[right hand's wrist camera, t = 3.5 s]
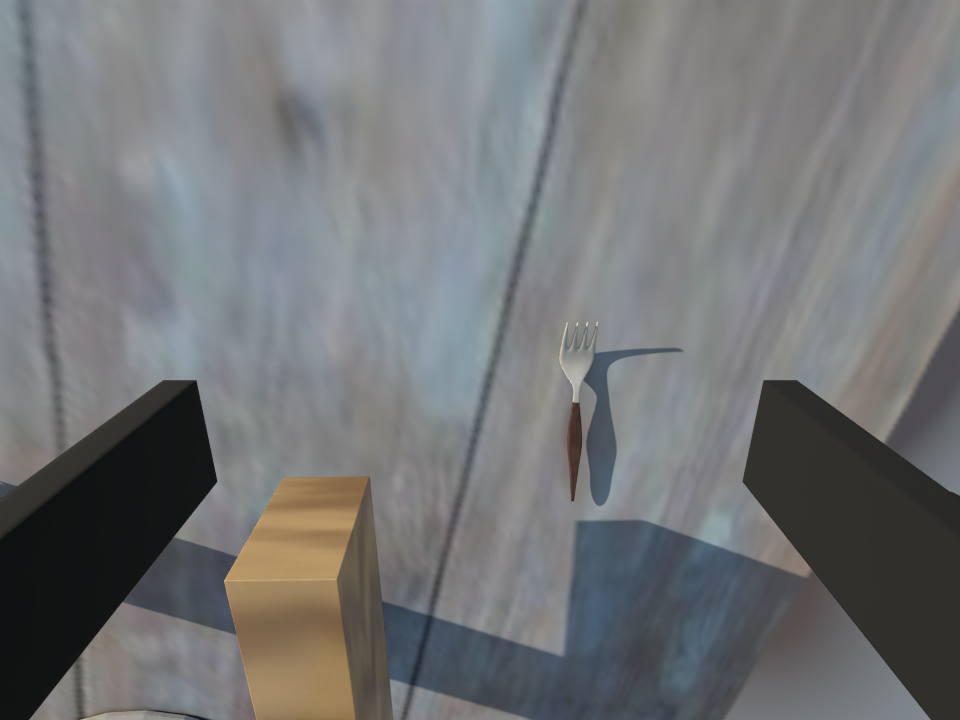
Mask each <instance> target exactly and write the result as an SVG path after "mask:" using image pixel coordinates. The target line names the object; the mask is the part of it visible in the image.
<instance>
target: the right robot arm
mask: <svg viewBox="0 0 960 720" xmlns="http://www.w3.org/2000/svg"><path fill="white" fill-rule="evenodd" d="M216 483H217V477H216V472H215V468H214V463H213V458H212V453H211V448H210V444H209V439H208V434H207V429H206V424H205V419H204V415H203V410H202V405H201V400H200V395H199V391H198V386H197V381H196V380H163V381H162V382H160V383H159V384H158V385H156V386H155V387H153V388H152V389H151V390H149V391H148V392H147V393H145V394H144V395H142V396H141V397H140V398H138V399H137V400H136V401H134V402H133V403H131V404H130V405H129V406H127V407H126V408H125V409H123V410H122V411H120V412H119V413H118V414H116V415H115V416H114V417H112V418H111V419H110V420H108V421H107V422H105V423H104V424H103V425H101V426H100V427H99V428H97V429H96V430H94V431H93V432H92V433H90V434H89V435H88V436H86V437H85V438H83V439H82V440H81V441H79V442H78V443H77V444H75V445H74V446H72V447H71V448H70V449H68V450H67V451H66V452H64V453H63V454H61V455H60V456H59V457H57V458H56V459H55V460H53V461H52V462H50V463H49V464H48V465H46V466H45V467H44V468H42V469H41V470H39V471H38V472H37V473H35V474H34V475H33V476H31V477H30V478H28V479H27V480H26V481H24V482H23V483H22V484H20V485H19V486H18V487H16V488H15V489H13V490H12V491H11V492H9V493H8V494H7V495H5V496H4V497H2V498H0V720H29V719H30V718H31V717H32V715H33V714H34V713H35V712H36V710H37V709H38V708H39V707H40V705H41V704H42V703H43V701H44V700H45V699H46V698H47V696H48V695H49V694H50V693H51V691H52V690H53V689H54V688H55V686H56V685H57V684H58V683H59V681H60V680H61V679H62V677H63V676H64V675H65V674H66V672H67V671H68V670H69V669H70V667H71V666H72V665H73V664H74V662H75V661H76V660H77V659H78V657H79V656H80V655H81V653H82V652H83V651H84V650H85V648H86V647H87V646H88V645H89V643H90V642H91V641H92V640H93V638H94V637H95V636H96V634H97V633H98V632H99V631H100V629H101V628H102V627H103V626H104V624H105V623H106V622H107V621H108V619H109V618H110V617H111V616H112V614H113V613H114V612H115V610H116V609H117V608H118V607H119V605H120V604H121V603H122V602H123V600H124V599H125V598H126V597H127V595H128V594H129V593H130V592H131V590H132V589H133V588H134V586H135V585H136V584H137V583H138V581H139V580H140V579H141V578H142V576H143V575H144V574H145V573H146V571H147V570H148V569H149V567H150V566H151V565H152V564H153V562H154V561H155V560H156V559H157V557H158V556H159V555H160V554H161V552H162V551H163V550H164V549H165V547H166V546H167V545H168V543H169V542H170V541H171V540H172V538H173V537H174V536H175V535H176V533H177V532H178V531H179V530H180V528H181V527H182V526H183V525H184V523H185V522H186V521H187V519H188V518H189V517H190V516H191V514H192V513H193V512H194V511H195V509H196V508H197V507H198V506H199V504H200V503H201V502H202V500H203V499H204V498H205V497H206V495H207V494H208V493H209V492H210V490H211V489H212V488H213V487H214V485H215V484H216ZM743 483H744V484H745V485H746V487H747V488H748V489H749V490H750V492H751V493H752V494H753V495H754V497H755V498H756V499H757V500H758V502H759V503H760V504H761V506H762V507H763V508H764V509H765V511H766V512H767V513H768V514H769V516H770V517H771V518H772V519H773V521H774V522H775V523H776V525H777V526H778V527H779V528H780V530H781V531H782V532H783V533H784V535H785V536H786V537H787V538H788V540H789V541H790V542H791V543H792V545H793V546H794V547H795V549H796V550H797V551H798V552H799V554H800V555H801V556H802V557H803V559H804V560H805V561H806V562H807V564H808V565H809V566H810V567H811V569H812V570H813V571H814V573H815V574H816V575H817V576H818V578H819V579H820V580H821V581H822V583H823V584H824V585H825V586H826V588H827V589H828V590H829V592H830V593H831V594H832V595H833V597H834V598H835V599H836V600H837V602H838V603H839V604H840V605H841V607H842V608H843V609H844V610H845V612H846V613H847V614H848V615H849V617H850V618H851V619H852V621H853V622H854V623H855V624H856V626H857V627H858V628H859V629H860V631H861V632H862V633H863V634H864V636H865V637H866V638H867V640H868V641H869V642H870V643H871V645H872V646H873V647H874V648H875V650H876V651H877V652H878V653H879V655H880V656H881V657H882V658H883V660H884V661H885V662H886V664H887V665H888V666H889V667H890V669H891V670H892V671H893V672H894V674H895V675H896V676H897V677H898V679H899V680H900V681H901V683H902V684H903V685H904V686H905V688H906V689H907V690H908V691H909V693H910V694H911V695H912V696H913V698H914V699H915V700H916V701H917V703H918V704H919V705H920V706H921V708H922V709H923V710H924V712H925V713H926V714H927V715H928V717H929V718H930V719H931V720H960V496H959V495H957V494H955V493H953V492H949V491H948V490H947V489H945V488H944V487H942V486H941V485H940V484H938V483H937V482H936V481H934V480H933V479H931V478H930V477H929V476H927V475H926V474H925V473H923V472H922V471H921V470H919V469H918V468H916V467H915V466H914V465H912V464H911V463H910V462H908V461H907V460H905V459H904V458H903V457H901V456H900V455H898V454H897V453H896V452H894V451H893V450H892V449H890V448H889V447H888V446H886V445H885V444H883V443H882V442H881V441H879V440H878V439H877V438H875V437H874V436H872V435H871V434H870V433H868V432H867V431H866V430H864V429H863V428H861V427H860V426H859V425H857V424H856V423H855V422H853V421H852V420H850V419H849V418H848V417H846V416H845V415H844V414H842V413H841V412H840V411H838V410H837V409H835V408H834V407H833V406H831V405H830V404H829V403H827V402H826V401H824V400H823V399H822V398H820V397H819V396H818V395H816V394H815V393H813V392H812V391H811V390H809V389H808V388H807V387H805V386H804V385H802V384H801V383H800V382H798V381H797V380H764V381H763V386H762V391H761V395H760V400H759V405H758V410H757V415H756V419H755V424H754V429H753V434H752V439H751V444H750V448H749V453H748V458H747V463H746V468H745V472H744V477H743Z"/></svg>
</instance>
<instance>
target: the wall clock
mask: <svg viewBox="0 0 960 720" xmlns="http://www.w3.org/2000/svg"><path fill="white" fill-rule="evenodd" d="M82 720H199V719H196V718H192V717H189V716H186V715H178V714H170V713H162V712H154V711H127V712H108V713H105V714H101V715H97V716H93V717H89V718H86V719H82Z"/></svg>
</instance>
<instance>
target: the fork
mask: <svg viewBox="0 0 960 720" xmlns="http://www.w3.org/2000/svg"><path fill="white" fill-rule="evenodd" d="M598 324H599V322H597V325H596V328H595V331H594V334H593V337H592V341H591V344H590V346H589V347H586V339H587V330H588V322H587V325H586V328H585V331H584V335H583V338H582V342H581V345H580V347H577V346H576V341H577V331H578V322H577V325H576V328H575V332H574V335H573V339H572V343H571V346H570V347H569V348H567V332H568V322H567V325H566V329H565V332H564V336H563V341H562V346H561V350H560V363H561V366H562V369H563V370H564V372H565V374H566V375H567V377H568V379H569V380H570V382H571V384H572V386H573V390H574V396H573V403H572V409H571V415H570V422H569V428H568V437H567V448H568V460H569V471H570V487H571V501H574V496H575V489H576V481H577V474H578V468H579V461H580V455H581V448H582V430H581V417H580V405H579V389H580V386H581V384H582V382H583V380H584V378H585V377H586V375H587V373H588V371H589V370H590V368H591V365H592V363H593V360H594V356H595V344H596V337H597V330H598Z"/></svg>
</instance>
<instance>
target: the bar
mask: <svg viewBox="0 0 960 720" xmlns="http://www.w3.org/2000/svg"><path fill="white" fill-rule="evenodd" d="M224 583H225V587H226V591H227V596H228V600H229V604H230V608H231V613H232V617H233V621H234V625H235V630H236V634H237V638H238V643H239V647H240V651H241V655H242V660H243V664H244V668H245V672H246V677H247V681H248V685H249V689H250V694H251V698H252V702H253V707H254V711H255V715H256V719H257V720H393V711H392V701H391V691H390V680H389V670H388V660H387V649H386V639H385V629H384V618H383V608H382V598H381V588H380V577H379V567H378V557H377V546H376V536H375V526H374V516H373V505H372V495H371V485H370V477H302V478H283V479H282V481H281V483H280V484H279V486H278V488H277V490H276V491H275V493H274V495H273V497H272V498H271V500H270V502H269V504H268V505H267V507H266V509H265V511H264V512H263V514H262V516H261V517H260V519H259V521H258V523H257V524H256V526H255V528H254V530H253V531H252V533H251V535H250V537H249V538H248V540H247V542H246V544H245V545H244V547H243V549H242V551H241V552H240V554H239V556H238V558H237V559H236V561H235V563H234V565H233V566H232V568H231V570H230V571H229V573H228V575H227V577H226V578H225V580H224Z"/></svg>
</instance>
